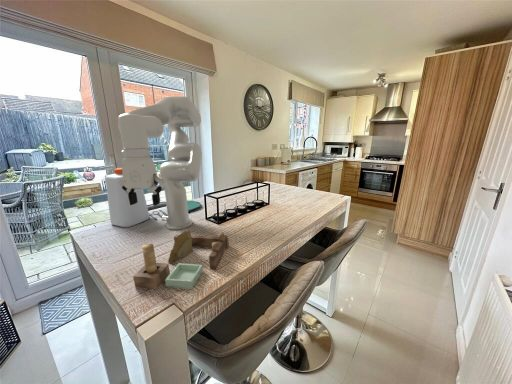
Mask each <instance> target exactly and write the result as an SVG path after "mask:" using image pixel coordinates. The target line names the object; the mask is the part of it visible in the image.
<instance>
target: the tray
mask: <svg viewBox="0 0 512 384" xmlns="http://www.w3.org/2000/svg"><path fill="white" fill-rule="evenodd" d="M203 272H204V268H203V264H192V263H180V262H178V264H176V266H175V267H174V268H173V270H172V271H170V274H169V276H168V277H167V278H166V279H165V281H164V282H165V287H166V288H176V289H185V290H186V289H187V290H193V289H194V287H195V286H196V285H197V282H198V281H199V279H200V277H201V275H202V274H203Z"/></svg>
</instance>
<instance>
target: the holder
mask: <svg viewBox="0 0 512 384" xmlns="http://www.w3.org/2000/svg"><path fill="white" fill-rule="evenodd" d="M169 264H170V263H168V262H167V263H166V262H165V263H164V262H156V265H157V271H156V272H155V273H154V274H150V273H146V268H145V265H143V266H142V267H141V268H140V269H139V270H138V271H137V272H135V274H134V275H133V281H134V287H135V289H143V290H155V291H156V290H157V291H158V290H159V289H160V287H162V285H163V283H164V282H165V279H166V278H167V277H168V276H169V274H170V273H171V271H170V266H169Z"/></svg>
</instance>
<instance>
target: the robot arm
mask: <svg viewBox="0 0 512 384" xmlns="http://www.w3.org/2000/svg"><path fill="white" fill-rule="evenodd" d="M117 120H118V121H117V122H118V123H117V126H118V131H119V132H120V133H119V134H120V138H121V144H122V145H121V146H122V150H121V152H120V153H121V154H122V155H123V157H124V158H122V161H121V162H122V163H121V168H122V175H123V178H122V179H121V180H120V181H119V182H118V183H119V184H120V185H121V187H122V189H123V190H125V191H126V194H128V197H129V202H130V205H133V204H136V203H137V202H138V201H137V195H136V192H134V191H135V189H143V190H148V189H149V190H150V191H151V193H152V194H151V199H152V200H151V201H152V205H153V206H154V207H155V206H156V207H157V206H158V205H159V204H161V196H160V193H161V192H162V191H163V189H164V195H165V197H164V198H165V201H166V202H165V204H166V207H167V208H166V210H167V212H166V213H167V215H168V216H167V215H161V216H162V218H161V222H166V223H165V228H166V229H168V230H173V231H178V230H183V229H186V228H189V227H191V226H192V225H193V219H192V218H190V217H189V211H188V205H187V201H188V199H187V198H188V197H187V196H188V195H187V189H186V188H185V185H184V184H183V183H184V182H186V183H187V182H188V183H189V182H190V183H191V182H196V181H197V180H198V179H199V176H200V171H201V164H202V147H201V145H199V144H198V143H196V142H189V141H190V138H189V135H188V134H187V133H186V132H185V131H184V130H183V129H182V128H196V127H199V126H200V125H201V123H202V116H201V113H200V111H199V110H198V108H197V106H196V104H194V102H193V101H192V100H191V99H190V98H189V97H188V96H166V97H164V98H161V99H160V100H158V101H157V102H155V103H154V104H151V105H148V106H147V105H146V106H144V107H140V108H137V109H133V110H130V111H129V112H126V113H122V114H120V115H118V117H117ZM166 125H167V128H168V129H169V133H170V140H169V143H168V145H169V146H168V149H167V159H168V160H169V161H166V162H163V163H162V164H161V165H160V167H159V175H160V177H159V176H158V173H157V170H156V169H157V168H156V166H155V165H156V164H155V162H154V159H153V157H152V156H151V152H150V144H149V139H155V138H159V137H161V136H162V134H164V130H165V129H164V126H166Z"/></svg>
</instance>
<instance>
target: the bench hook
mask: <svg viewBox="0 0 512 384" xmlns="http://www.w3.org/2000/svg"><path fill="white" fill-rule="evenodd" d="M179 235H180V234H175V235H174V236H173V242H174V243H175V238H176V237H178V236H179ZM191 236H192V248H210V249H211V252H210V254H209V255H208V260H209V261H208V262H209V270H214V271H215V270H217V269H218V266H219V265H220V263H221V260H222V258H223V256H224V254H225V252H226V251H227V249H229V247H230V245H229V244H230V242H229V241H230V240H229V239H230V237H229V236H228V235H227V234H225V233H224V232H219V233H218V234H217V236H215V235H214V236H213V235H212V236H211V235H196V234H195V235H194V234H193V235H192V234H191Z"/></svg>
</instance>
